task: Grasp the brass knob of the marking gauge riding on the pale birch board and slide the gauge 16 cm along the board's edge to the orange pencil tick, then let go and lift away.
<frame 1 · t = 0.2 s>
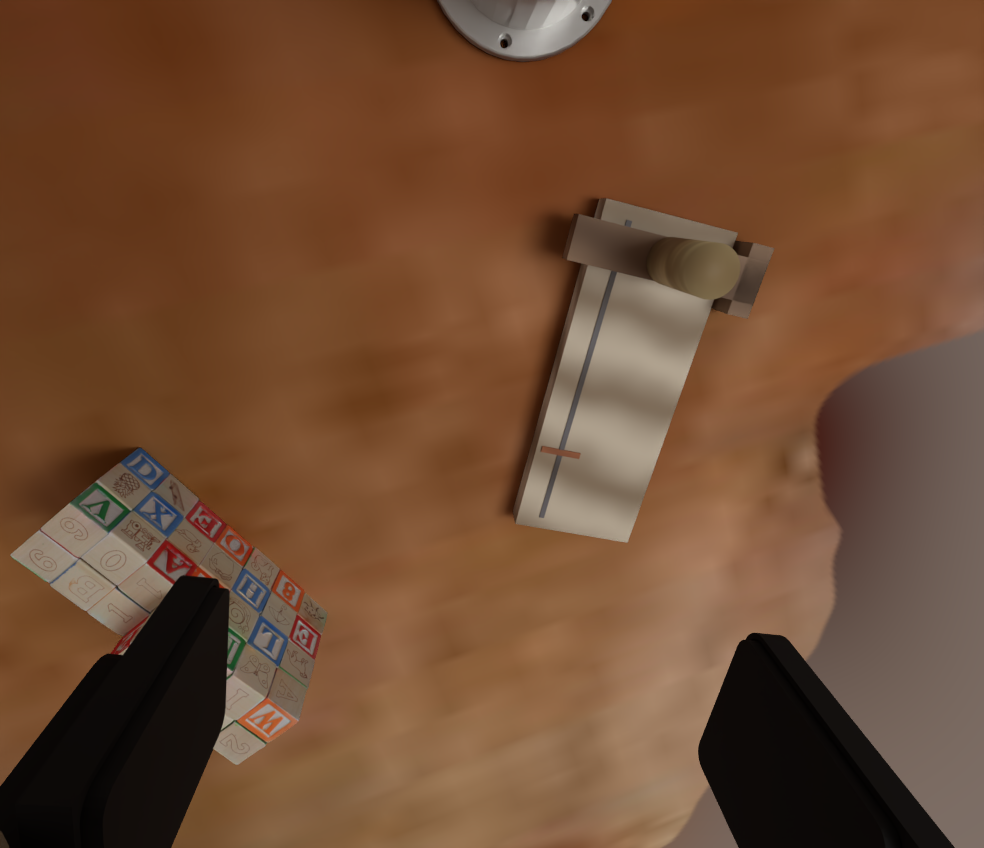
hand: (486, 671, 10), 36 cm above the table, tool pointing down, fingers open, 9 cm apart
marking gauge: (679, 263, 38), point 6 cm above the table, slide at 0.0 cm
birch board: (611, 382, 47), on the table
stack of blocks: (217, 553, 50), on the table
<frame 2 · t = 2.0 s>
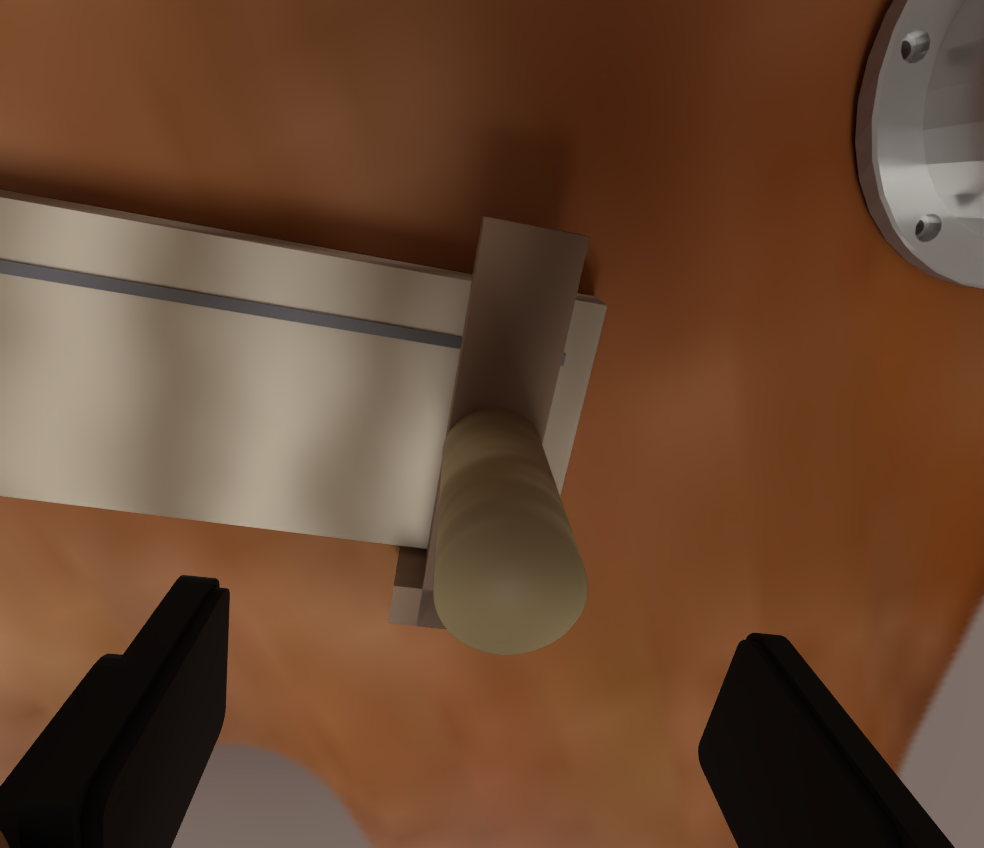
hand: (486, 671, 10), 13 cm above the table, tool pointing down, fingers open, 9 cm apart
marking gauge: (496, 481, 17), point 6 cm above the table, slide at 0.0 cm
birch board: (215, 371, 21), on the table
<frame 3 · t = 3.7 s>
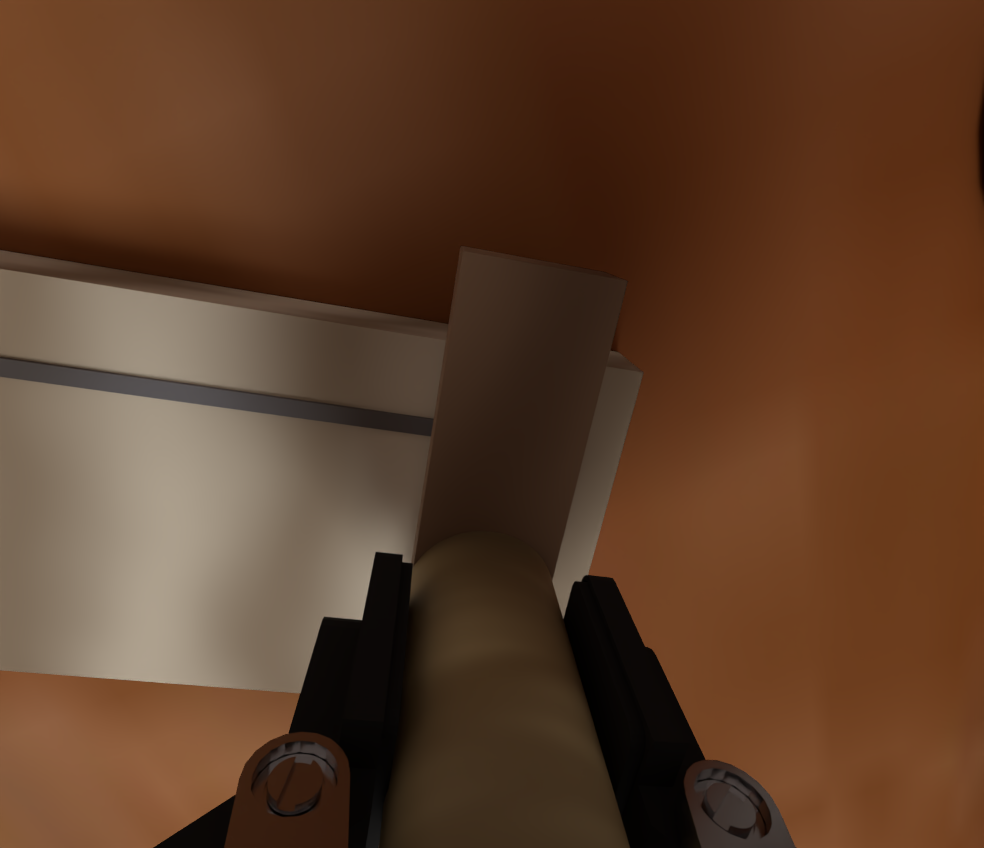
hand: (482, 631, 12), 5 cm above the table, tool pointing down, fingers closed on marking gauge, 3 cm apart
marking gauge: (485, 657, 11), point 6 cm above the table, slide at 0.0 cm, touching gripper
birch board: (85, 461, 15), on the table
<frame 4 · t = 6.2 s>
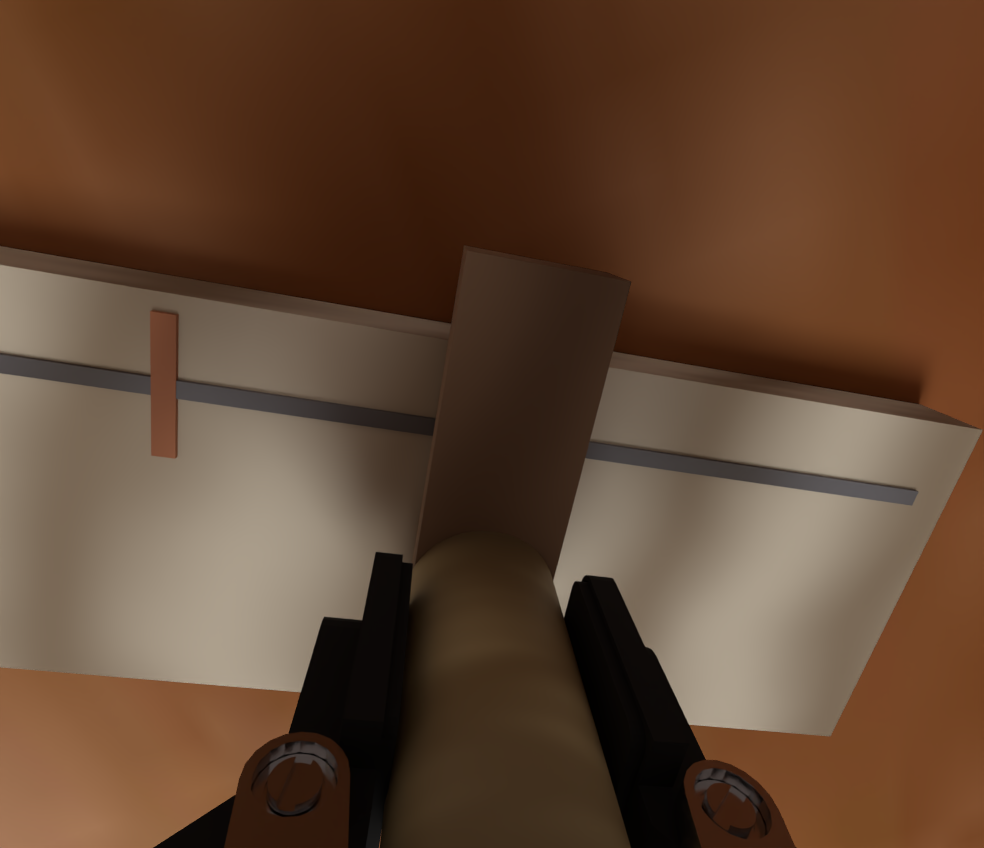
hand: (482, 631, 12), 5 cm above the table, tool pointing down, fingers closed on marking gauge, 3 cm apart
marking gauge: (486, 657, 11), point 6 cm above the table, slide at 8.8 cm, touching gripper
birch board: (427, 503, 16), on the table
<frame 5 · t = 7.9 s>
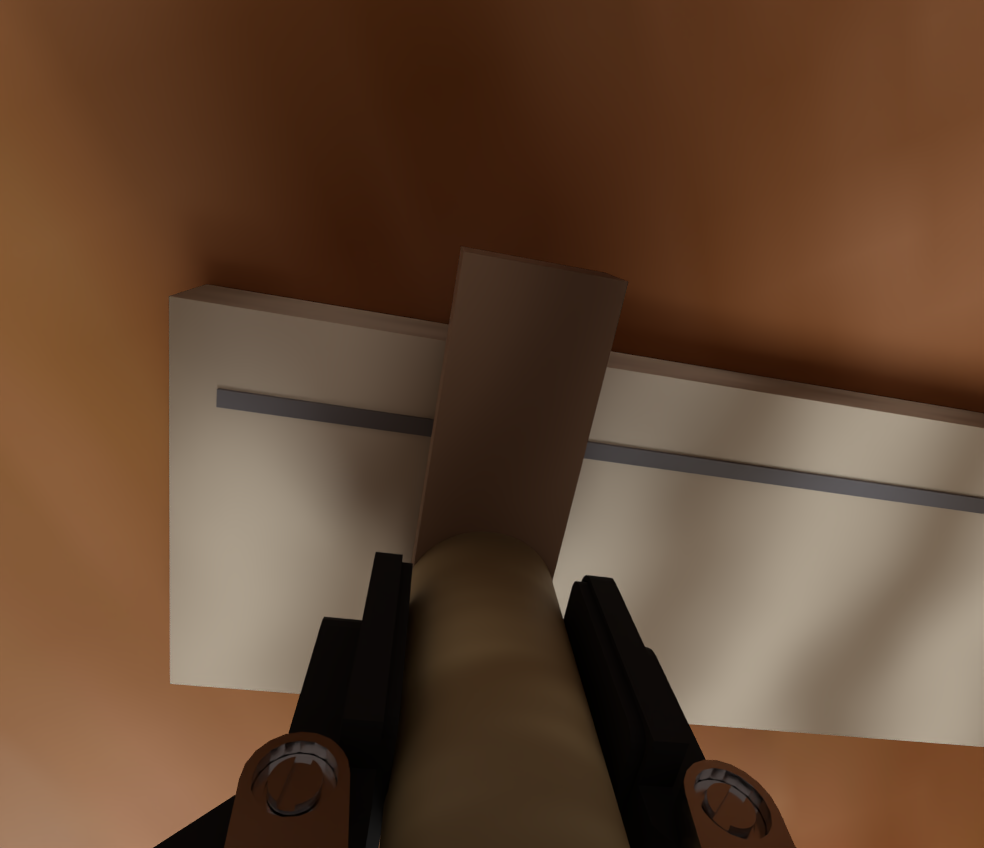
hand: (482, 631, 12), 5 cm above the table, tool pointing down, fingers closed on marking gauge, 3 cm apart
marking gauge: (485, 658, 11), point 6 cm above the table, slide at 15.9 cm, touching gripper
birch board: (669, 533, 17), on the table
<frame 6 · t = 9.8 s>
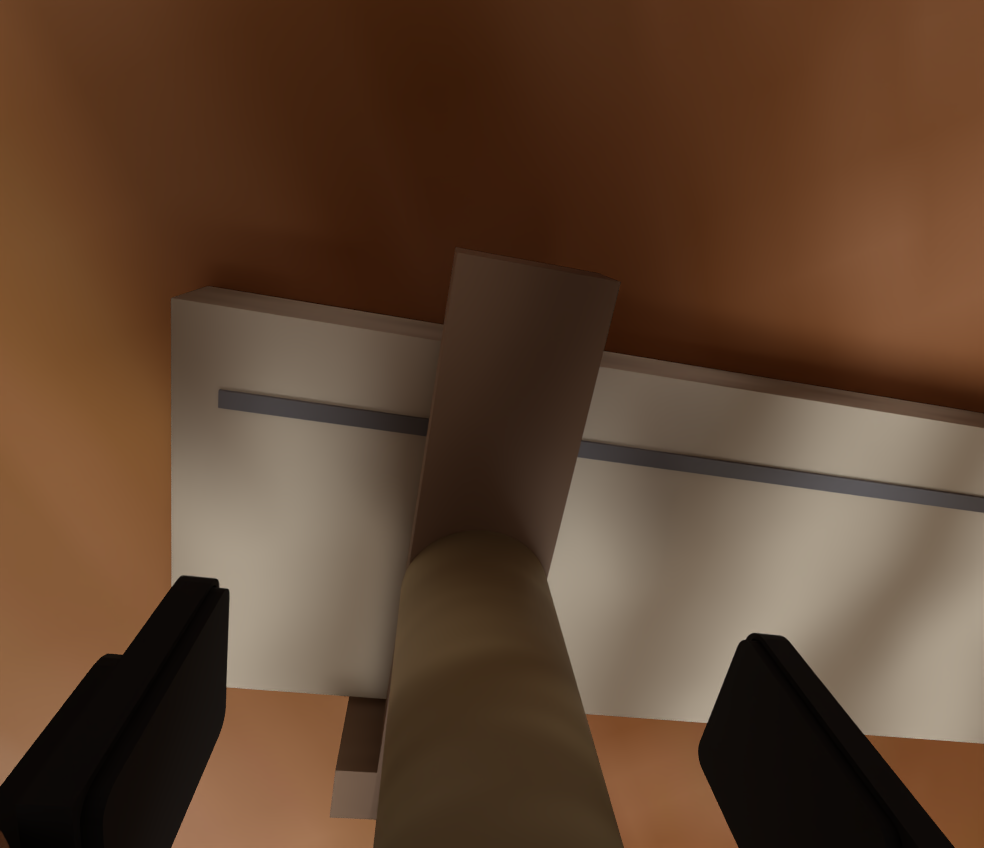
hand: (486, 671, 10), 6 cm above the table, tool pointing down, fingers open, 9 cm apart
marking gauge: (480, 655, 11), point 6 cm above the table, slide at 16.0 cm
birch board: (667, 532, 17), on the table
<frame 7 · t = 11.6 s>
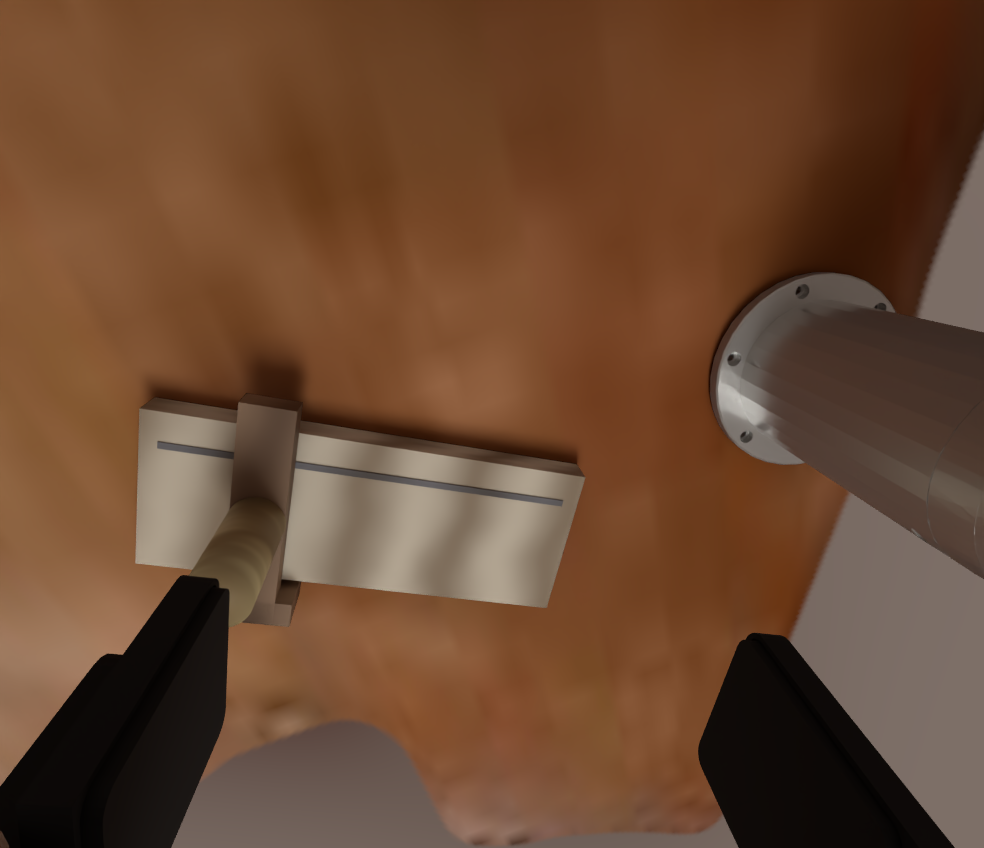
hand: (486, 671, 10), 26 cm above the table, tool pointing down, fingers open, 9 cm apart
marking gauge: (247, 539, 31), point 6 cm above the table, slide at 16.0 cm
birch board: (368, 503, 38), on the table
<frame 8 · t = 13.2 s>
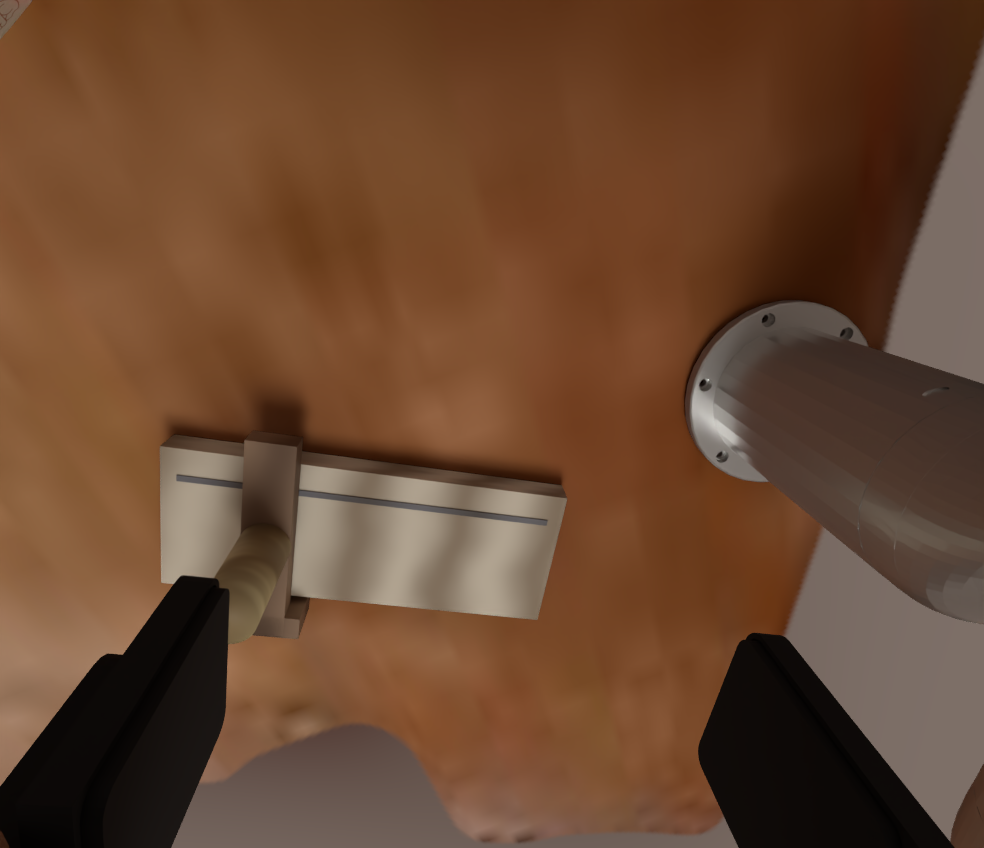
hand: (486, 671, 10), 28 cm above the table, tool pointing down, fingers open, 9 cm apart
marking gauge: (256, 562, 35), point 6 cm above the table, slide at 16.0 cm
birch board: (368, 525, 41), on the table
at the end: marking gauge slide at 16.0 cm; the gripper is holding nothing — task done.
